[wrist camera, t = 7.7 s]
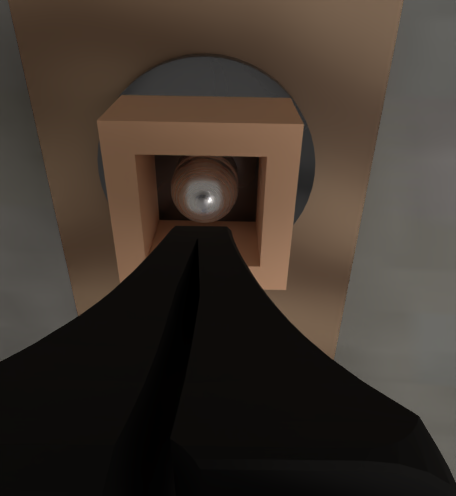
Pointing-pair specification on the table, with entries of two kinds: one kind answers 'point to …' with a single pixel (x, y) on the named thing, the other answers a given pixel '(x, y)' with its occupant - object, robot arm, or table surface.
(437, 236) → the table surface
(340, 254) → the walnut board
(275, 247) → the collar
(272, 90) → the hub
